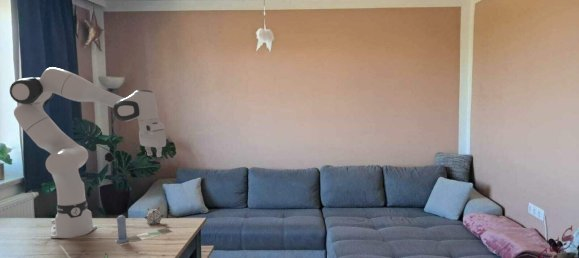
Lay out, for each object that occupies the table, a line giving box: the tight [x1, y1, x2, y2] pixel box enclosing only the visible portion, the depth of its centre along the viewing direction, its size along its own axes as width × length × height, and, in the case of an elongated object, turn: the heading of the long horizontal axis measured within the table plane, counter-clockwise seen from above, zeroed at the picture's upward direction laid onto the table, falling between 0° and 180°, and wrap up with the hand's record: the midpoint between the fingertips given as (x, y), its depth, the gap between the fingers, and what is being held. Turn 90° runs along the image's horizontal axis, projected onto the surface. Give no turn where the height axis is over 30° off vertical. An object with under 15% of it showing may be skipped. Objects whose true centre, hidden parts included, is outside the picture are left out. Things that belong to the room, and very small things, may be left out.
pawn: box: [116, 214, 129, 245], centre depth 171 cm, size 4×4×11 cm
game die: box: [144, 207, 164, 225], centre depth 194 cm, size 9×8×10 cm
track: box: [114, 227, 173, 246], centre depth 178 cm, size 7×22×1 cm, turn 130°
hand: (154, 156), depth 185 cm, fingers open, 8 cm apart
